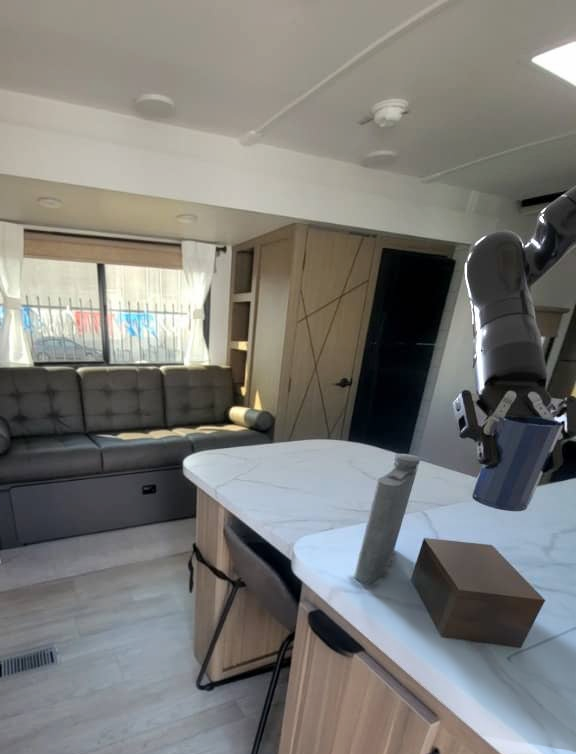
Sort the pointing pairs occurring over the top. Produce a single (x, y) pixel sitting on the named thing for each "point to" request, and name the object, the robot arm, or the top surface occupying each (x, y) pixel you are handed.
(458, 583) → the walnut wood box
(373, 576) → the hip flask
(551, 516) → the top surface
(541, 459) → the blue cup
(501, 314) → the robot arm
